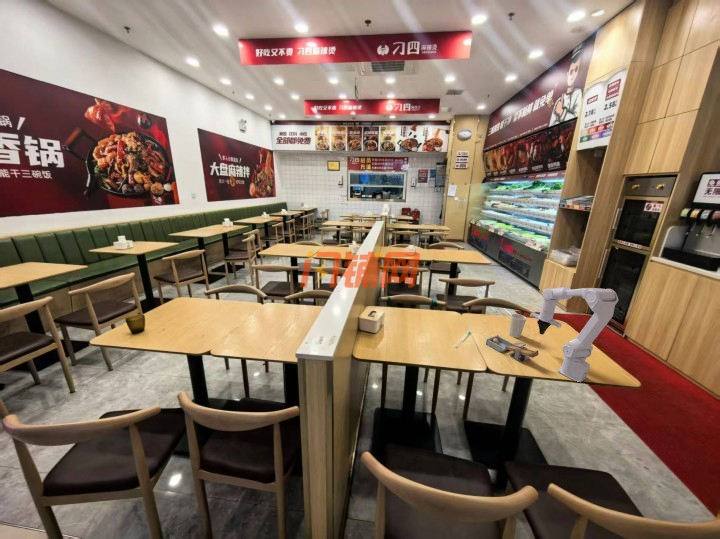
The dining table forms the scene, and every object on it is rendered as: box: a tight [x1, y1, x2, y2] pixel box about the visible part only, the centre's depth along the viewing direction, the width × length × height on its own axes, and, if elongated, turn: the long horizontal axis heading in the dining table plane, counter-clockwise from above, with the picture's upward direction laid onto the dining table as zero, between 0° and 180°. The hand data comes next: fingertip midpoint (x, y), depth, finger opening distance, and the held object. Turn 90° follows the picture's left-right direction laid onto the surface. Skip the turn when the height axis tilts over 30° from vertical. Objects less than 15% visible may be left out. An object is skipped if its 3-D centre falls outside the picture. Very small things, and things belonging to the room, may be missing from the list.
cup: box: [508, 313, 527, 339], centre depth 164 cm, size 8×8×12 cm
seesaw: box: [505, 341, 539, 359], centre depth 144 cm, size 14×12×2 cm
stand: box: [509, 346, 531, 364], centre depth 143 cm, size 6×7×5 cm
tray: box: [485, 334, 514, 353], centre depth 153 cm, size 9×9×4 cm
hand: (541, 333), depth 149 cm, fingers closed
